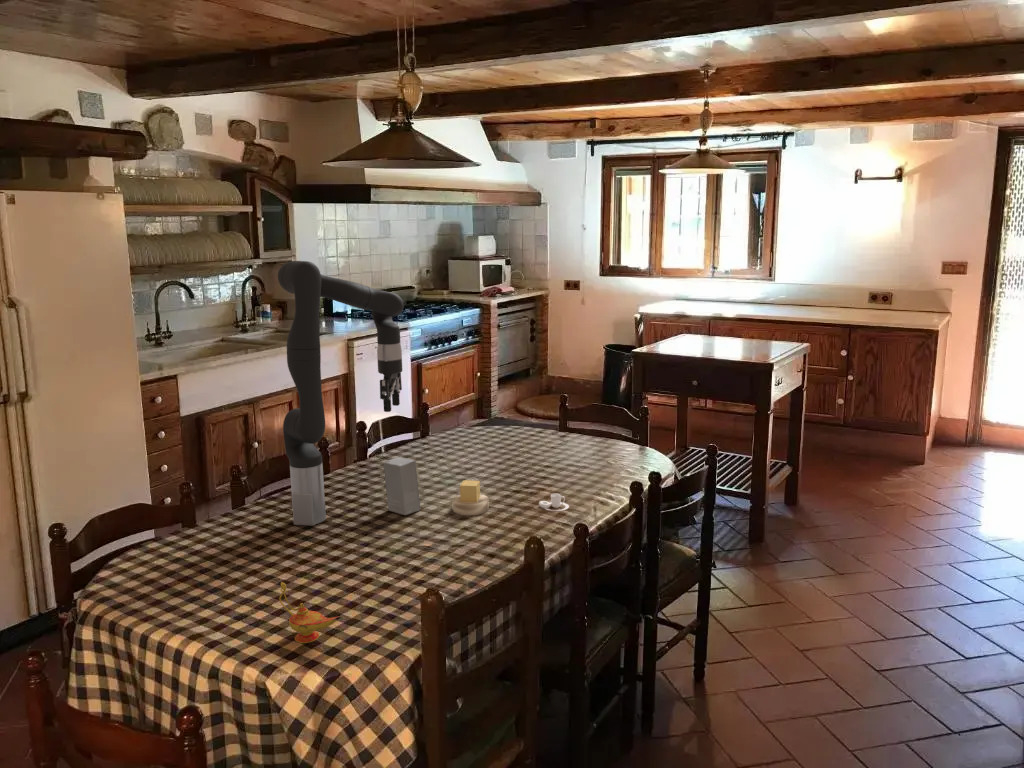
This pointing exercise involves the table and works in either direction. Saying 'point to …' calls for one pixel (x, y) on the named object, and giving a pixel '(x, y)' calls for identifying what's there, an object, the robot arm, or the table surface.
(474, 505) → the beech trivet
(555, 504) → the teacup and saucer
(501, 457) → the table surface
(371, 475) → the table surface
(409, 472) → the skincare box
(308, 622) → the magic lamp
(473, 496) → the ochre block
